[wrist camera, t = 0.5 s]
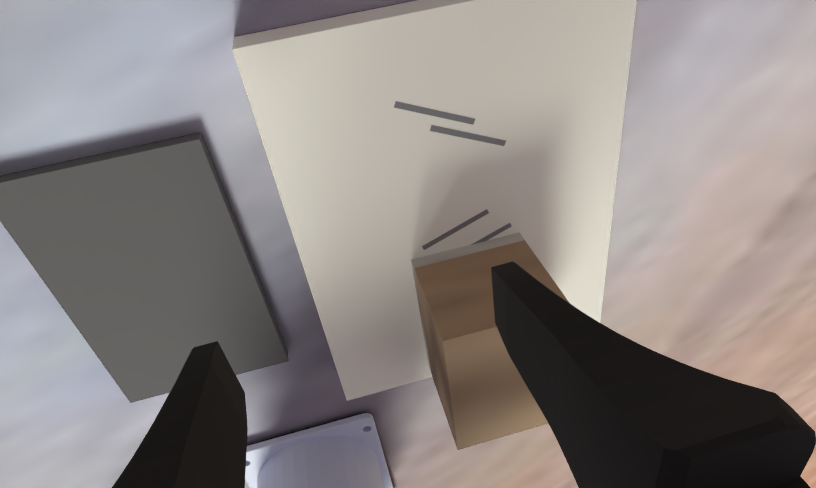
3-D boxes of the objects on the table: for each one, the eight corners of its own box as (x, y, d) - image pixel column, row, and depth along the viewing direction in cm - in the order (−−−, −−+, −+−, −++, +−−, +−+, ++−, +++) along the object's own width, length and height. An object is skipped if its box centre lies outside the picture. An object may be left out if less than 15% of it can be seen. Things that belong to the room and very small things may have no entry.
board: (585, 312, 30) (599, 331, 29) (343, 378, 29) (346, 401, 28) (617, -40, 20) (640, -34, 18) (233, 36, 18) (232, 49, 17)
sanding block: (520, 340, 28) (564, 418, 24) (428, 365, 28) (457, 449, 24) (519, 232, 24) (572, 306, 20) (410, 259, 23) (442, 341, 19)
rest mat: (287, 351, 27) (288, 360, 26) (132, 392, 26) (130, 402, 26) (200, 132, 20) (198, 139, 19) (-17, 179, 19) (-24, 187, 18)
